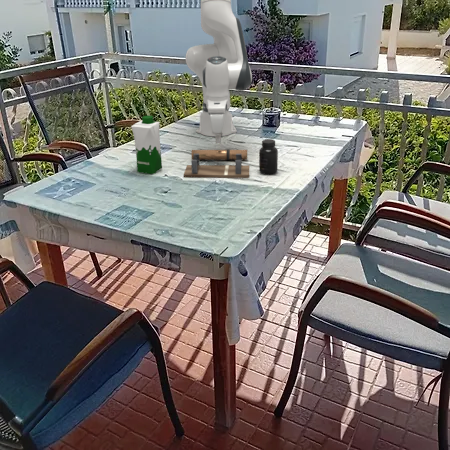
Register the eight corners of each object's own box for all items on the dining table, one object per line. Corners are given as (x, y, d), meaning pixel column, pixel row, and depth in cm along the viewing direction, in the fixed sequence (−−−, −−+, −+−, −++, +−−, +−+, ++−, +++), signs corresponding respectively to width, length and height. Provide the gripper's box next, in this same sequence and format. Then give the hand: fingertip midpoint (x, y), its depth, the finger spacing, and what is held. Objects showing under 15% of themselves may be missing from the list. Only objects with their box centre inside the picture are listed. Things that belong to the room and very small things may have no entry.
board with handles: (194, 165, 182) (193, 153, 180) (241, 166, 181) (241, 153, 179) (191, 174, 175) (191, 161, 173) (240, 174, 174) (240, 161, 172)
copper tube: (191, 157, 188) (191, 147, 189) (192, 161, 192) (192, 152, 193) (247, 157, 187) (247, 147, 188) (247, 161, 190) (247, 152, 192)
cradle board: (187, 167, 184) (187, 164, 183) (249, 167, 182) (249, 165, 182) (183, 177, 175) (183, 174, 175) (249, 177, 174) (249, 175, 173)
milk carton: (165, 167, 184) (161, 116, 175) (154, 175, 177) (149, 122, 168) (145, 164, 187) (140, 114, 178) (133, 173, 180) (127, 120, 170)
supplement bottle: (267, 167, 183) (268, 136, 177) (281, 171, 178) (282, 140, 173) (255, 172, 179) (255, 141, 173) (269, 176, 174) (269, 145, 169)
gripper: (211, 97, 188) (213, 131, 194) (207, 109, 169) (209, 147, 176) (227, 97, 187) (228, 131, 193) (225, 109, 169) (226, 147, 175)
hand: (219, 139), depth 184 cm, fingers open, 8 cm apart
